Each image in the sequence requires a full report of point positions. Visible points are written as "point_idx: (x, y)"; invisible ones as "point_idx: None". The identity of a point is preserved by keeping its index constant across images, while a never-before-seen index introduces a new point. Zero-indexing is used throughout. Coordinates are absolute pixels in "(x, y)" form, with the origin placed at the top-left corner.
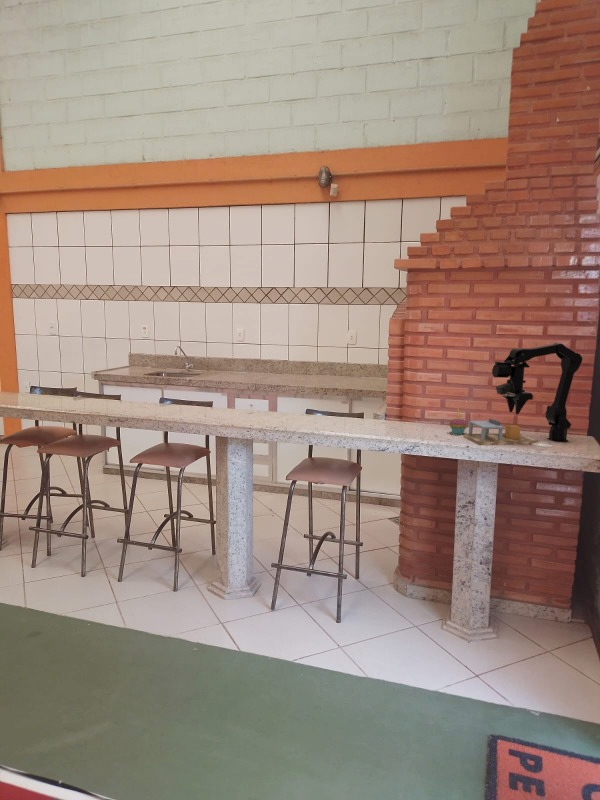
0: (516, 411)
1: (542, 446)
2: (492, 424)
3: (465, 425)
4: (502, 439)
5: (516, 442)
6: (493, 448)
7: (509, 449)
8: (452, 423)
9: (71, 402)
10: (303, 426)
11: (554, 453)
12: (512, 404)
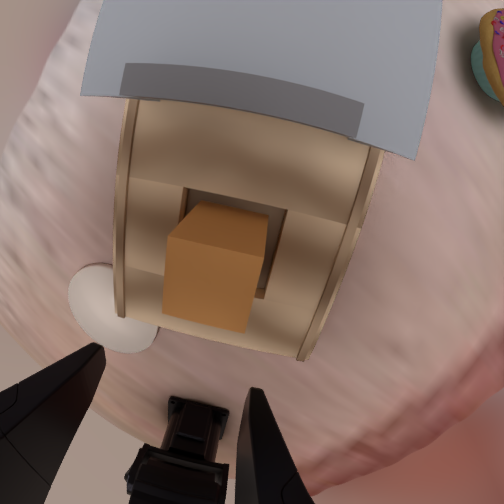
0: (67, 357)
1: (72, 279)
2: (208, 49)
3: (490, 57)
4: (189, 138)
5: (117, 187)
6: (97, 12)
7: (60, 85)
8: None
9: None
10: None
11: (4, 243)
12: (242, 490)
